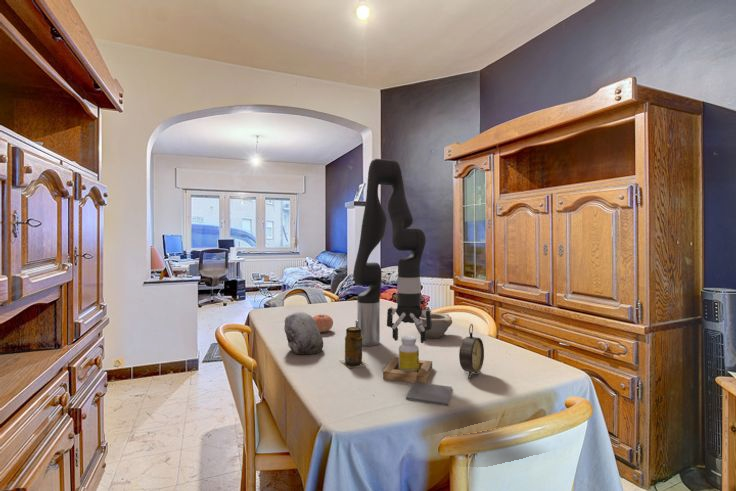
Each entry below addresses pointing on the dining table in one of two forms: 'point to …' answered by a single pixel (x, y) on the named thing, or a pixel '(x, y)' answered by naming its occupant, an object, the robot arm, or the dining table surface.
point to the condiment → (353, 348)
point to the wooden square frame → (407, 372)
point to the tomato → (323, 322)
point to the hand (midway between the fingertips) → (409, 341)
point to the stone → (302, 334)
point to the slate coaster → (429, 393)
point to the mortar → (436, 325)
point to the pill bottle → (408, 354)
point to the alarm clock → (471, 354)
